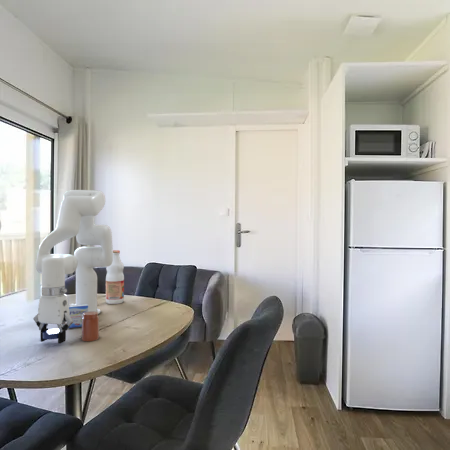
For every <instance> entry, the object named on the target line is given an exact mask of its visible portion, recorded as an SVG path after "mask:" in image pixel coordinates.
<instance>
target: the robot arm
mask: <svg viewBox="0 0 450 450" xmlns="http://www.w3.org/2000/svg"><path fill="white" fill-rule="evenodd" d="M62 197H63V199H62V200H61V203H60V206H59V211H58V215H57V216H58V217H57V221H56V226H55V229H54V230H52V231H51V232H50V233H48V234H47V235H46V236H45V238H43V240H42V241H41V242H40V244H39V246H38V250H37V254H36V258H35V270H36V271H37V272H38V273H39V274H41V294H40V296H39V302H38V307H37V313H36V315H35V316H34V317H33V318H32V319H33V321H34V323H35V325H36V326H37V327H38V330H39V331H40V332H39V333H40V335H39V336H40V338H39V339H40V342H41V343H42V342H45V341H48V339H43V331H45V330H49V328H48V326H49V325H56V327H57V329H59V331H60V332H58V339H57V343H58V344H63V343H65V342H66V341H67V340H66V339H67V331H68V329H70V328H69V327H70V325H71V324H72V323H73V320H72V318H71V317H70V316H69V305H80V304H87V305H88V312H98V315H99V314H101V309H100V308H98V275H97V272H96V271H95V269H94V268H106V267H108V266H110V265H111V264H112V262H113V250H114V248H113V247H114V246H113V234H112V233H113V232H112V229H111V227H110V226H109V225H107V224H96V222H95V217H96V216H97V215H99V214H100V212H101V211H102V210H104V209H103V208H104V207H105V205H106V195H105V193H104V192H103V191H102V190H95V189H94V190H93V189H70V190H66V191H65V192H64V193H63V195H62ZM73 238H75V239H76V243H78V244H79V245H83V246H79V247H77V248H76V249H75V250H74V253H73V254H69V253H50V252H51V250H52V249H53V248H54V247H55V246H56V245H58V244H60V243H62V242H64V241H67V240H69V239H73ZM74 272H75V303H70V304H69V299H68V298H69V297H68V295H67V294H66V293H67V292H68V289H67V288H66V275H71V274H73V273H74Z"/></svg>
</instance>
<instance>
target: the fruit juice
mask: <svg viewBox="0 0 450 450" xmlns="http://www.w3.org/2000/svg"><path fill="white" fill-rule="evenodd" d="M120 253H121V251H120V250H119V249H113V262H112V264H111V265H110V266H108V267H105V270H106V276H105V304H108V305H119V304H123V303H124V301H125V275H124V268H125V266H124V263H123V262H122V260H121V257H120Z"/></svg>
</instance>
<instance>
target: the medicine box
mask: <svg viewBox="0 0 450 450" xmlns="http://www.w3.org/2000/svg"><path fill="white" fill-rule="evenodd" d="M85 312H88V305H87V304H80V305H71V304H69V316H70V317H71V318H72V320H73V323H72V324H71V325H70V327H69V328H68V329H74V328H82V317H83V313H85Z"/></svg>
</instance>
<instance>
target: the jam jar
mask: <svg viewBox="0 0 450 450" xmlns="http://www.w3.org/2000/svg"><path fill="white" fill-rule="evenodd" d="M99 338H100V316H99V314H98V312H85V313H83V317H82V327H81V341H83V342H94V341H97V340H99Z"/></svg>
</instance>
